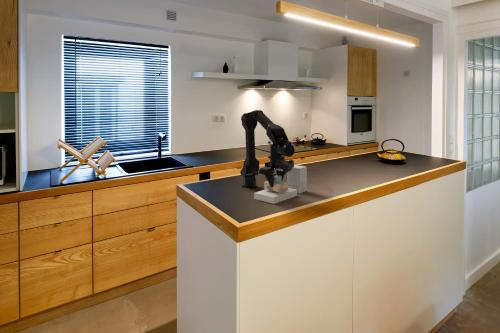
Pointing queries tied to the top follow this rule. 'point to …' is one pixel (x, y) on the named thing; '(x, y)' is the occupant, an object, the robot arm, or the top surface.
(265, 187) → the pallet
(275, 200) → the block
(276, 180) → the crate
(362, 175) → the top surface
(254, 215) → the top surface
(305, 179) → the small box
